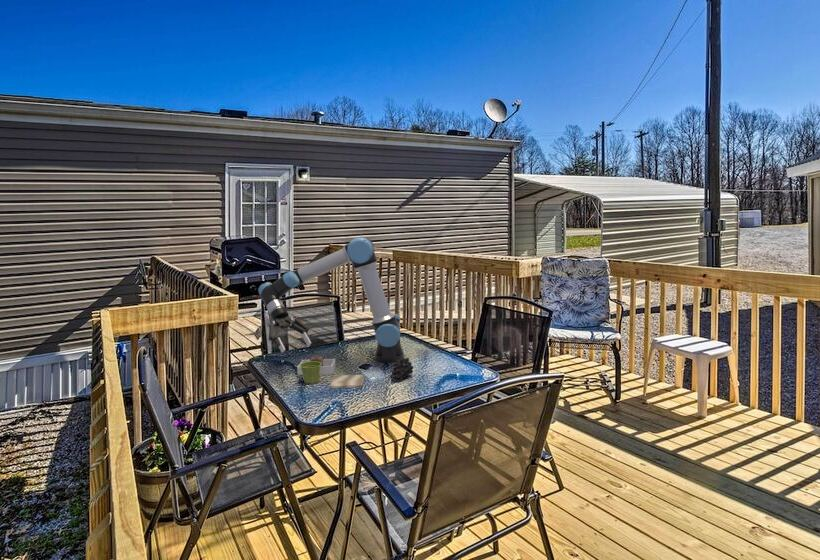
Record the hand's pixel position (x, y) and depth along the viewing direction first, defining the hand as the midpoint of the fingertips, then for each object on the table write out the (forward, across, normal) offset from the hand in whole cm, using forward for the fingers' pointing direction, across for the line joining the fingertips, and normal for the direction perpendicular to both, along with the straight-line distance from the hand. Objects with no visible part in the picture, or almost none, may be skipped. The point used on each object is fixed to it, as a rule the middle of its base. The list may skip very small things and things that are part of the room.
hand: (296, 348), depth 222 cm
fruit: (+35, -31, +14) cm, 48 cm away
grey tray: (+9, -11, -11) cm, 18 cm away
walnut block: (+8, -11, -10) cm, 18 cm away
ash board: (+25, -12, +5) cm, 28 cm away
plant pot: (+17, 0, -3) cm, 18 cm away
